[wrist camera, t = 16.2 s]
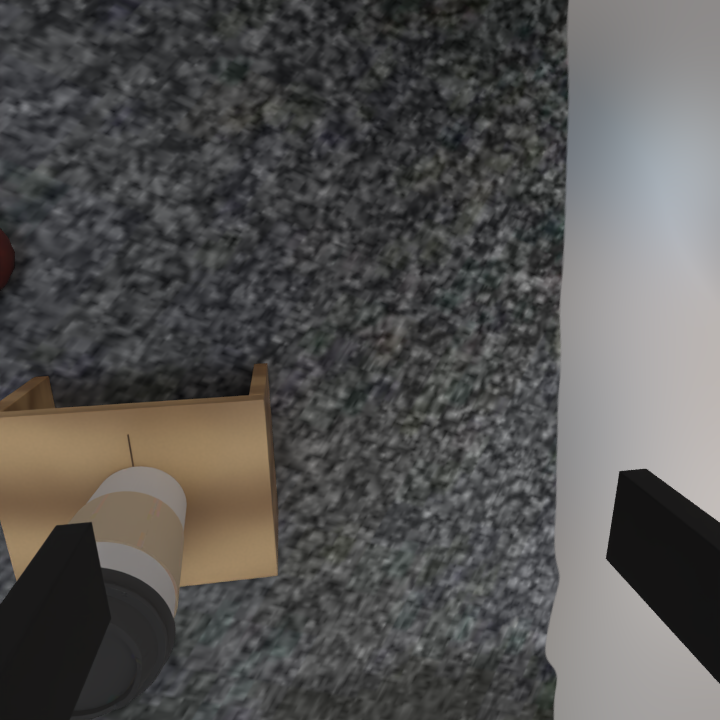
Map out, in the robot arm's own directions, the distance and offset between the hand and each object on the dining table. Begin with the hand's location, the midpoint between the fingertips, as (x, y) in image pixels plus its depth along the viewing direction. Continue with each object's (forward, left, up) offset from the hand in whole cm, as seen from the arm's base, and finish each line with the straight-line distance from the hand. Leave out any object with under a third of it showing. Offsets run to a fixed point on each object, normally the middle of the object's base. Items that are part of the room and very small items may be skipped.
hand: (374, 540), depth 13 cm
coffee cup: (+14, -14, -26) cm, 32 cm away
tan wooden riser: (+14, -14, -35) cm, 40 cm away
